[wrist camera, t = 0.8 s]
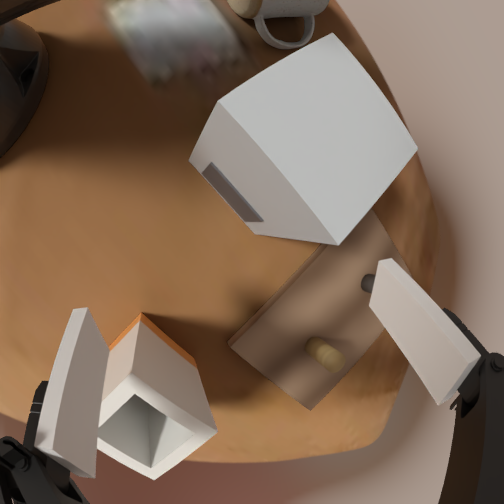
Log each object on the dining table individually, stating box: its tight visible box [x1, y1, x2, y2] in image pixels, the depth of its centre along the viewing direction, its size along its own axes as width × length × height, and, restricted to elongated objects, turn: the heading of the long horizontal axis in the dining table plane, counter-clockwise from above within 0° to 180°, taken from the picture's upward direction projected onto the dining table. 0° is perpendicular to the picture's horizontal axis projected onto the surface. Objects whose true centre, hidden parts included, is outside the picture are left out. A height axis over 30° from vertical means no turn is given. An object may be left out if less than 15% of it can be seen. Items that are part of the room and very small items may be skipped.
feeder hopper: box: [188, 33, 418, 245], centre depth 18 cm, size 8×8×12 cm
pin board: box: [227, 208, 414, 411], centre depth 25 cm, size 12×18×5 cm, turn 133°
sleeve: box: [97, 312, 218, 480], centre depth 17 cm, size 6×6×10 cm
